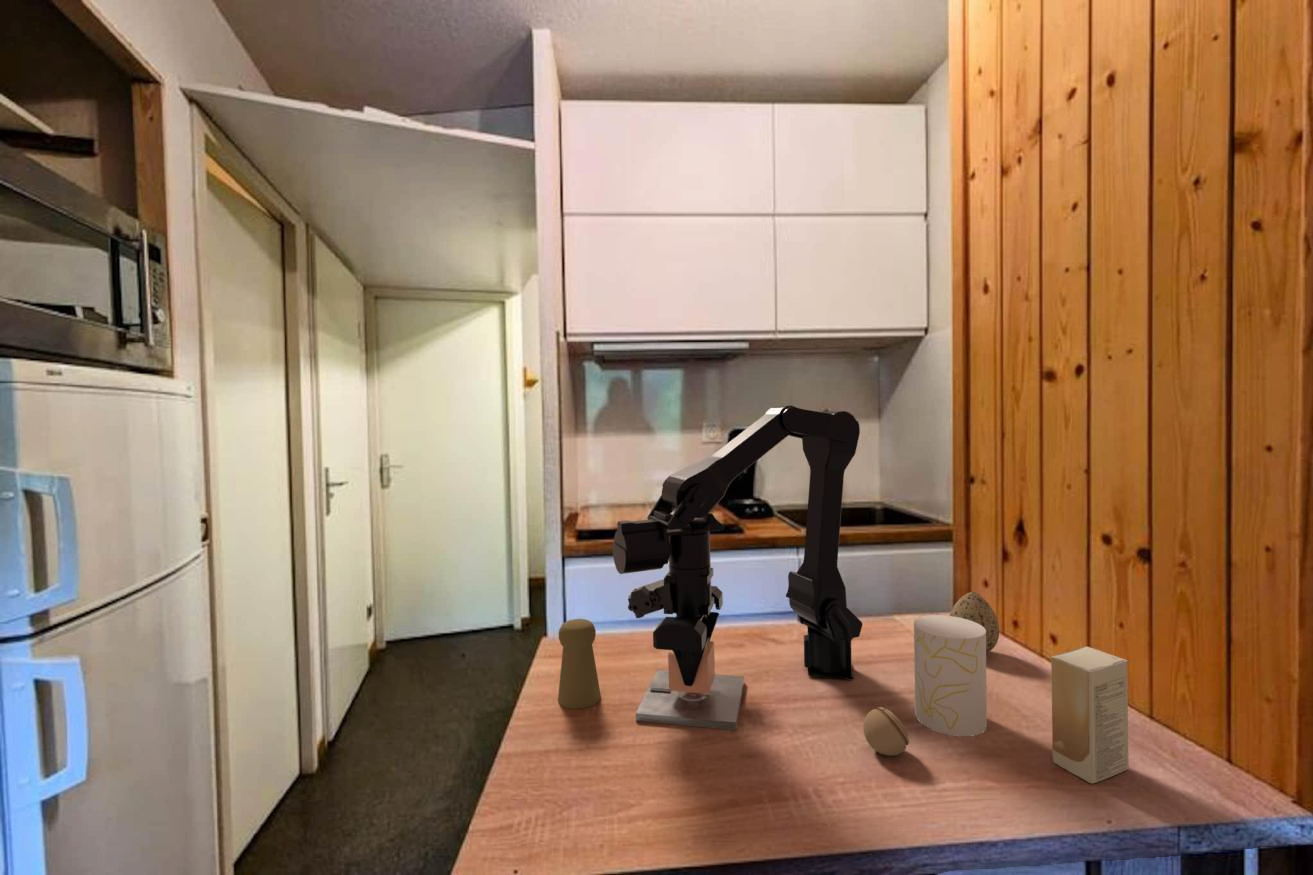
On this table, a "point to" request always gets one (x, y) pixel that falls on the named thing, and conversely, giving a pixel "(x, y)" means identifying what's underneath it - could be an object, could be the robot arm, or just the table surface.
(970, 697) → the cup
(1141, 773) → the table surface
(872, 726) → the beige rounded piece
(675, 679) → the hollow block with latch
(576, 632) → the cork
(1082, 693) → the skincare box
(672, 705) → the grey square base plate
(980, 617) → the decorative egg
